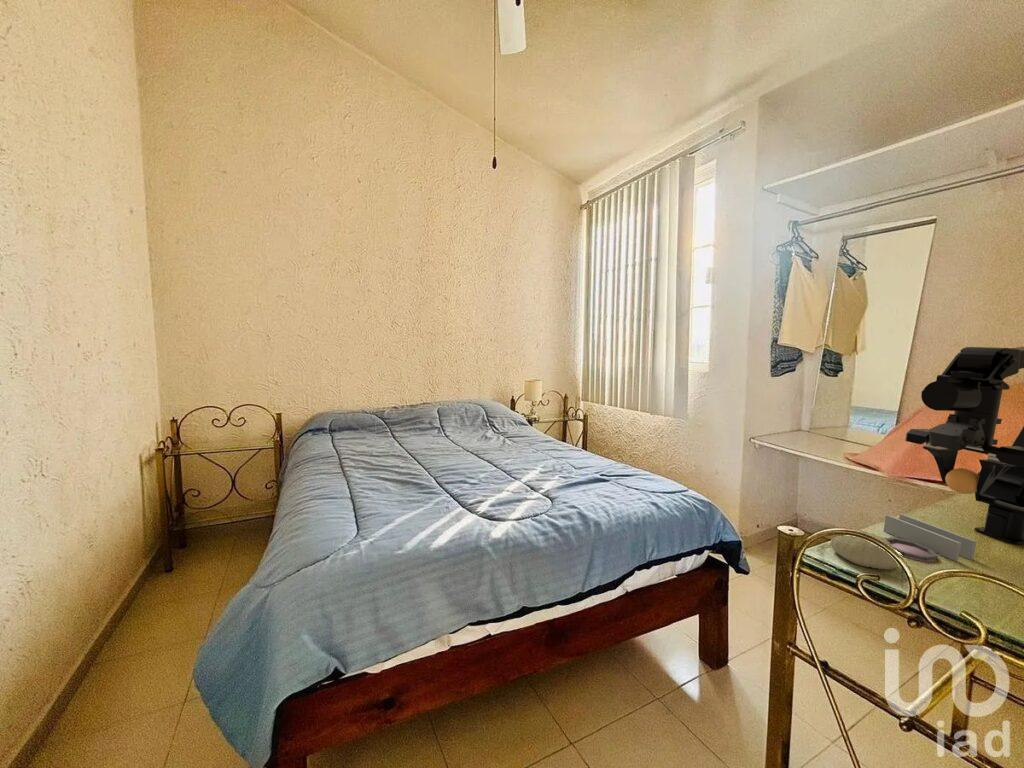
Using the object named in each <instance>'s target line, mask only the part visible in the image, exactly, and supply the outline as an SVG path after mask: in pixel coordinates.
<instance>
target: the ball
mask: <svg viewBox="0 0 1024 768" xmlns="http://www.w3.org/2000/svg"><path fill="white" fill-rule="evenodd" d="M978 480H979V475H978V473H976V472H975V471H973V470H972V469H968V468H963V467H962V468H961V467H959V468H954V469H953V470H951V471H950V472H948V473H947V475H946V477H945V481H946V484H945V485H947V487H948V488H949V489H950V490H952V491H954V492H955V493H958V494H962V495H971V494H975V492H977V484H978Z"/></svg>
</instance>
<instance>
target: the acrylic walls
mask: <svg viewBox="0 0 1024 768" xmlns="http://www.w3.org/2000/svg"><path fill="white" fill-rule="evenodd" d="M883 532H884V533H887V534H890V535H892V536H893V537H895V538H899V539H904V540H908V541H913V542H916V543H918V544H920V545H923V546H925V547H928V548H930V549H931V550H933V551H934V552H935V553H936V555H940V556H942V557H944V558H947V559H949V560H951V561H954V562H958V561H959V557H960V556H961V557H964V558H966V559H969V560H973V561H974V560H975V559H974V558H975V553H976V548H977V542H978V541H977V540H973V539H971V538H968V537H966V536H963V535H961V534H958V533H955V532H953V531H949V530H947V529H944V528H941V527H939V526H936V525H935V524H931V523H928V522H925V521H923V520H920V519H917V518H915V517H913V516H909V515H907V514H904V513H900V514H899V518H897V517H894V516H892V515H889V514H885V518H884V524H883Z"/></svg>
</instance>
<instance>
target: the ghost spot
mask: <svg viewBox="0 0 1024 768" xmlns="http://www.w3.org/2000/svg"><path fill="white" fill-rule="evenodd" d="M883 538H884V539H886V540H887V541H888V542H890V543H891V544H892V545H893V547H894V548H895V549H896V550H897V551H898V552H900V553H901V554H902V555H903V556H904V557H903V556H902V557H903V558H908V559H910V560H915V561H920V562H925V563H926V562H928V563H929V562H930V563H931V562H932V563H933V562H936V561H937V560H938V554H937V553H935V552H934V551H933V550H931V549H930V548H928V547H925V546H923V545H920V544H918V543H916V542H913V541H908V540H904V539H901V538H899V537H896V536H893V537H892V536H891V537H883Z"/></svg>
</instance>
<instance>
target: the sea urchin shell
mask: <svg viewBox="0 0 1024 768" xmlns="http://www.w3.org/2000/svg"><path fill="white" fill-rule="evenodd" d="M846 530H857V531H860V532H862V533H864V534H868V535H871V536H873V537H875V538H877V539H879V540H881V541H883V542H884V543H886V544H887V545H889V546H890V547H892V548H893V549H895V548H894V547H893V545H892V544H891V543H890V542H888V541H887V540H886V539H884V538H885V537H882V536H879V535H876V534H874V533H871V532H868V531H865V530H862V529H857V528H852V529H851V528H849V529H846ZM832 537H833V536H832ZM832 537H831V539H830V544H831V548H832V549H833V551H835V552H836V553H837V554H838V555H839V556H841V557H842V558H844V559H845V560H846V561H849V562H851V563H853V564H854V563H855V565H857V564H858V565H857V566H860V565H861V566H860V567H865V566H866V567H865V568H868V567H872V569H876V568H878V569H877V570H883V569H888V571H889V570H890V569H891V570H893V569H895V568H897V566H898V564H897V563H896V561H895V560H894V559H893V558H892V557H891V556H890V555H889V554H888V553H887V552H886V551H884V550H883V549H881V548H879V547H878V546H875V545H873V544H871V543H870V542H868V541H866V540H864V539H862V538H859V537H853V536H836V537H833V538H832ZM895 550H896V549H895Z"/></svg>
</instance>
